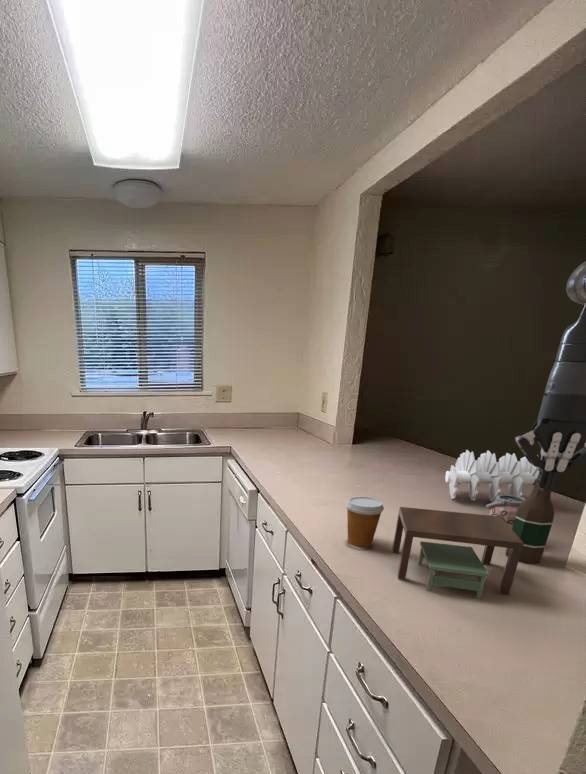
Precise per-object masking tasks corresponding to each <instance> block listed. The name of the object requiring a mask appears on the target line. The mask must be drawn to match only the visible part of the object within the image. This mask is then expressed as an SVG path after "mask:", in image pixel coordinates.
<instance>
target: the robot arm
mask: <svg viewBox="0 0 586 774" xmlns="http://www.w3.org/2000/svg"><path fill="white" fill-rule="evenodd" d="M565 291H566V294H567V297H568V298H569V299H570V300H571V301H572V302H574V303H576V304H578V305H583V308H582V310H581V311H580V314H579V317H578V319H576V321H574V322H573V323H570V325H568V326H566V328H565V329H564V331H563V333H562V335H561V338H560V340H559V345H558V348H557V351H556V352H557V353H556V356H555V359H554V360H555V361H554V363H553V365H552V368H551V370H550V373H549V375H548V377H547V382H546V386H545V389H544V392H543V397H542V400H541V405H540V409H539V410H538V411H539V412H538V416H537V420H536V422H535V423H534V424H533V425H532V426H531V428H530V429H531V430H530V431H528V432H526V433H524V434H522V435H519V434H518V435H516V436H515V437H514V438H513V439H514V442H515V443H516V445H517V446H518V448H519V450H520V451H521V452H522V454H523V455H524V457H526V458H527V460H528V461H529V463H531V464H533V465H534V466H535V467H539V468H540V471H539V474H538V478H537V479H536V480H537V482H536V481H535V482H536V484H537V486H538V487H539V489H540V490H541V491H547V492H551V493H553V492H554V490H557V489H558V488H559V487H560V483H561V480H562V478H563V474H564V472H565V471H568V470H577V469H579V468H580V467H582V466H583V465H584V464H585V463H586V260H585V261H584V262H582V263H581V264H580V265H578V266H577V267H575V269H574V270H573V271H572V272H571V274H570V276H569V277H568V279H567V282H566V287H565ZM534 439H535V440H536V442H537V443H538V446H539V447H540V456H539V455H538V454H537V452H536V451H535V449H534V448H533V445H534V443H535V440H534ZM583 445H584V446H583ZM581 446H583V447H582V448H580V447H581ZM579 448H580V449H579ZM578 449H579V450H578ZM576 450H578V451H576ZM575 451H576V452H575Z"/></svg>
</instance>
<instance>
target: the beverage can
mask: <svg viewBox="0 0 586 774" xmlns="http://www.w3.org/2000/svg"><path fill="white" fill-rule="evenodd" d="M525 499H526V498H525V497H523V496H521V497H518V496H513V495H509V494H499V495H498V496H497V498H496V501H495V502H493V503H492V502H490V503H488V504H486V505H485V508H486V509H489V512H488V515H491V516H500V517H501V518H502V519H503V520H504V521H505V522H506V524H507V525H508V526H509V527H510V528H511V529H512V527H513V523H514V520H515V516H516V513H517V511H518V508H519V506H520V505H521V503H522V502H523V501H524V500H525Z"/></svg>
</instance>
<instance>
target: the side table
mask: <svg viewBox="0 0 586 774" xmlns="http://www.w3.org/2000/svg"><path fill="white" fill-rule="evenodd" d="M403 532H404V538H403ZM414 538H418V539H426V540H435V541H445V542H453V543H461V544H462V543H463V544H469V545H478V546H479V545H480V546H484V549H483V553H482V557H481V560H480V561H481V563H482V564H483V565H484V566H485V565H486V566H490V565H491V562H492V558H493V554H494V552H495V551H494V550H495V548H504V549H505V548H506V549H507V548H511V549H510V553H509V557H508V556H507V560H506V564H505V567H504V571H503V574H502V578H501V581H500V586H499V589H498V592H499V593H500V594H501V595H507V596H509V595H510V592H511V589H512V585H513V582H514V579H515V576H516V572H517V568H518V565H519V558H520V555H521V551H522V548H523V545H524V543H523V542H522V541H521V539H520V538H519V537H518V536H517V535H516V534H515V533H514V532H513V530H512V529H511V528H510V527H509V526H508V525H507V524H506V522H505V521H504V520H503V519H502V518H501V517H500V516H491V515H489V514H479V513H469V512H468V513H467V512H459V511H458V512H457V511H447V510H437V509H427V508H418V507H417V508H416V507H405V506H399V508H398V514H397V519H396V523H395V531H394V536H393V542H392V547H391V553H392V554H400V550H401V554H400V560H399V566H398V570H397V579H398V580H403V581H405V580H406V577H407V572H408V567H409V561H410V556H411V552H412V547H413V540H414ZM402 539H403V543H402ZM401 543H402V549H400V548H401Z"/></svg>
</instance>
